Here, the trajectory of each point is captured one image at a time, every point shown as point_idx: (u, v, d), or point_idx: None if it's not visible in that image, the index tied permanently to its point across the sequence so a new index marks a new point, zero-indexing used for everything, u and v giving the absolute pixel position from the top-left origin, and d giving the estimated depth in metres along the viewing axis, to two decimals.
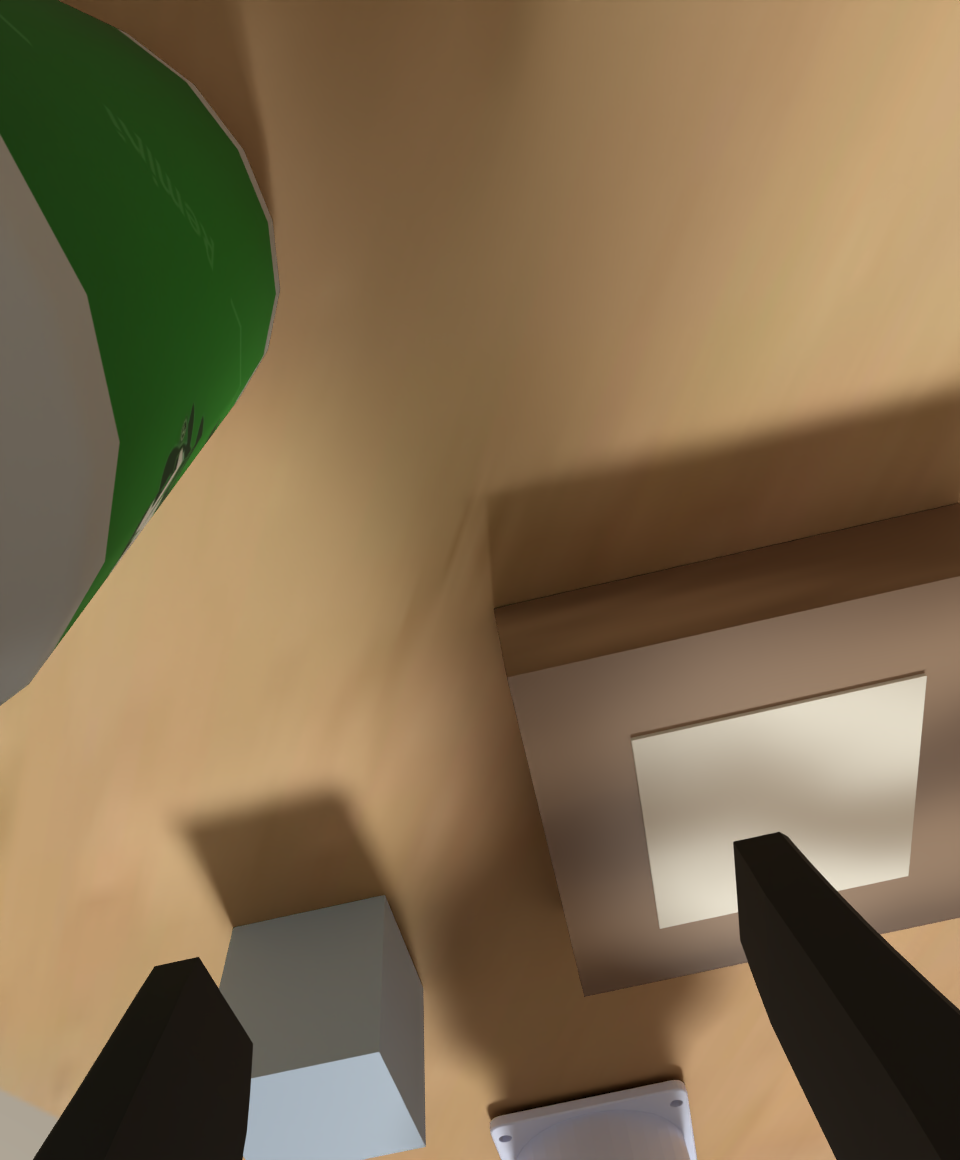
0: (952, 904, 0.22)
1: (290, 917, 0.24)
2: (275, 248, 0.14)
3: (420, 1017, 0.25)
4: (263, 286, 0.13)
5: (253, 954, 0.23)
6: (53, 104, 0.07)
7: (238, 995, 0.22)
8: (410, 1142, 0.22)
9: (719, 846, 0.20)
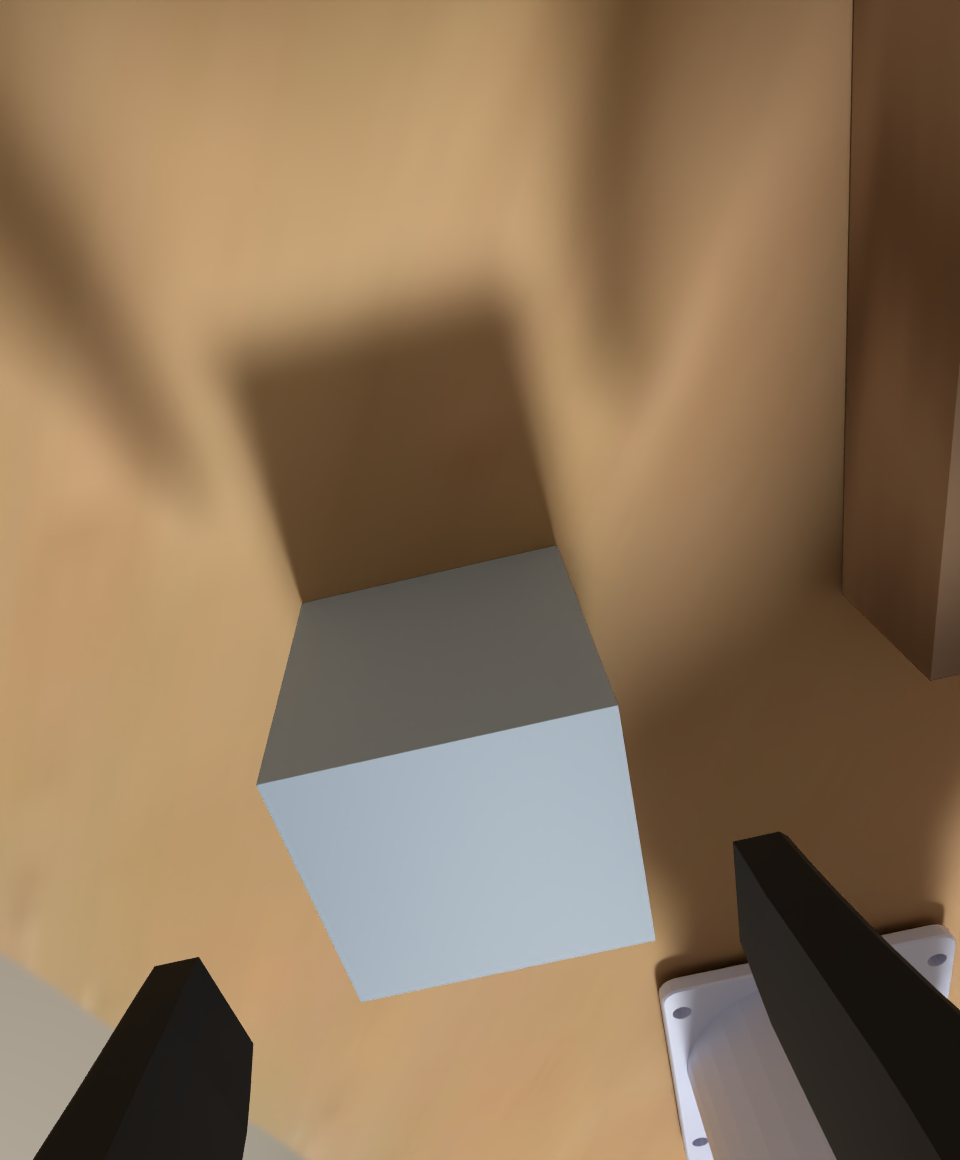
0: None
1: (398, 583, 0.15)
2: None
3: None
4: None
5: (341, 625, 0.14)
6: None
7: (322, 669, 0.12)
8: (631, 928, 0.12)
9: None
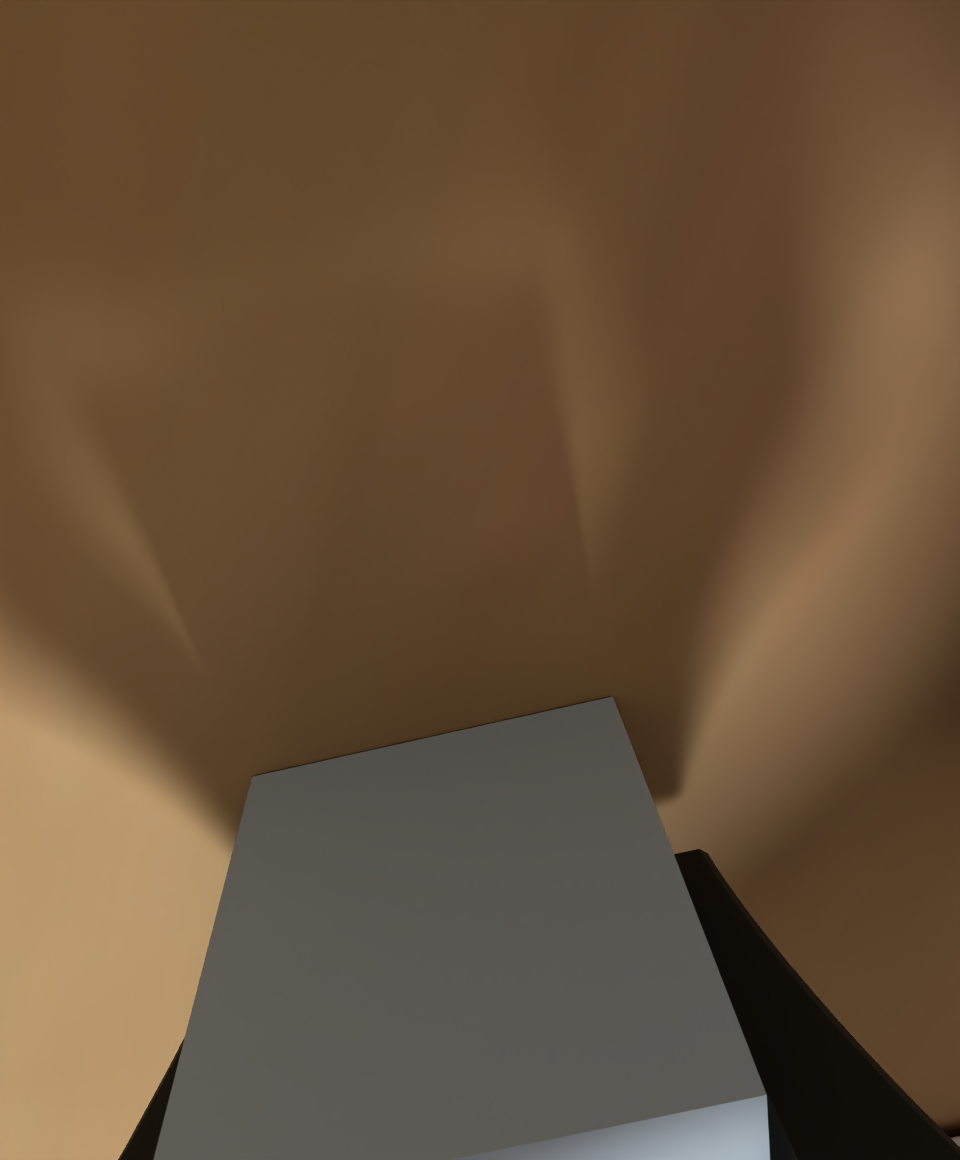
0: None
1: (387, 754, 0.10)
2: None
3: None
4: None
5: (303, 832, 0.09)
6: None
7: (269, 928, 0.08)
8: None
9: None
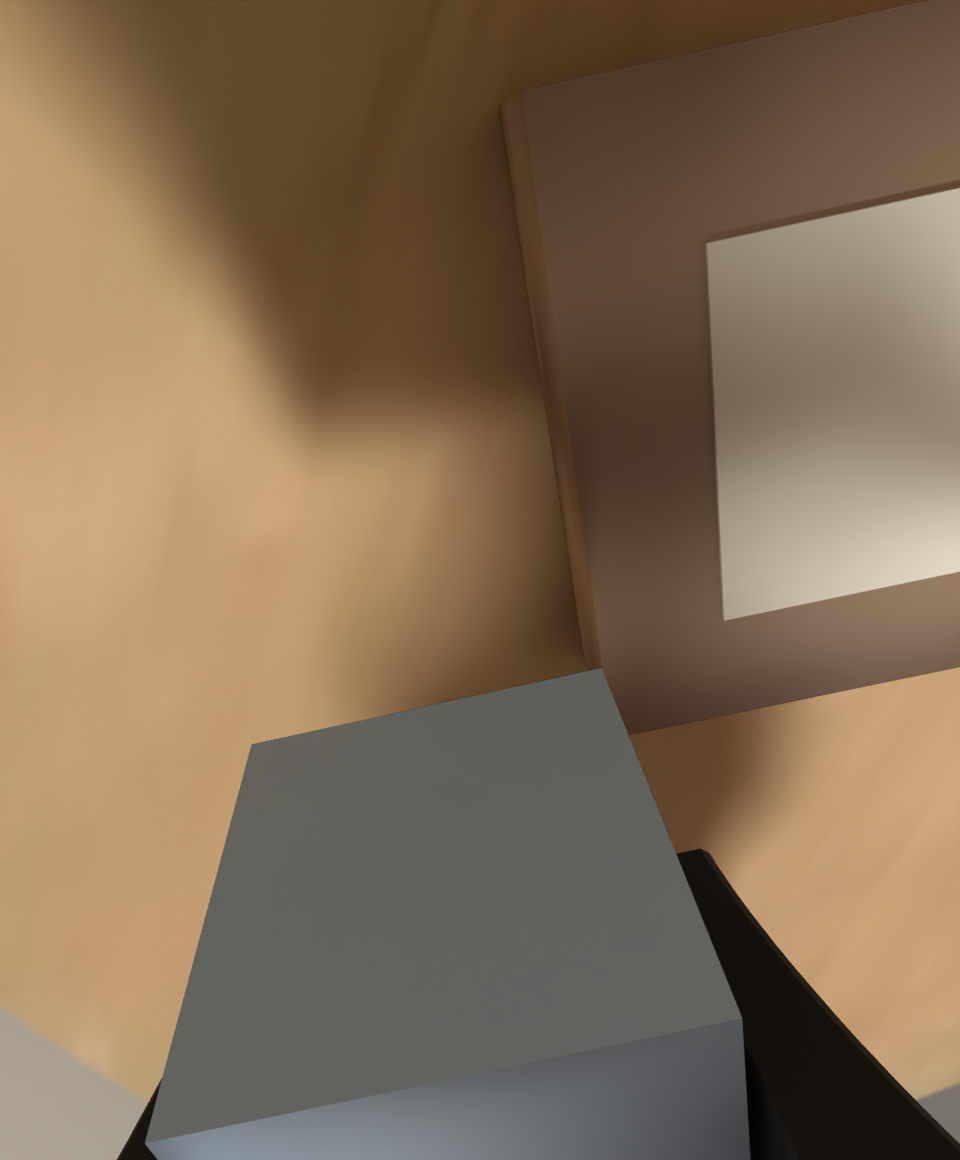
0: None
1: (384, 723, 0.10)
2: None
3: None
4: None
5: (302, 794, 0.10)
6: None
7: (270, 880, 0.08)
8: None
9: (818, 474, 0.14)
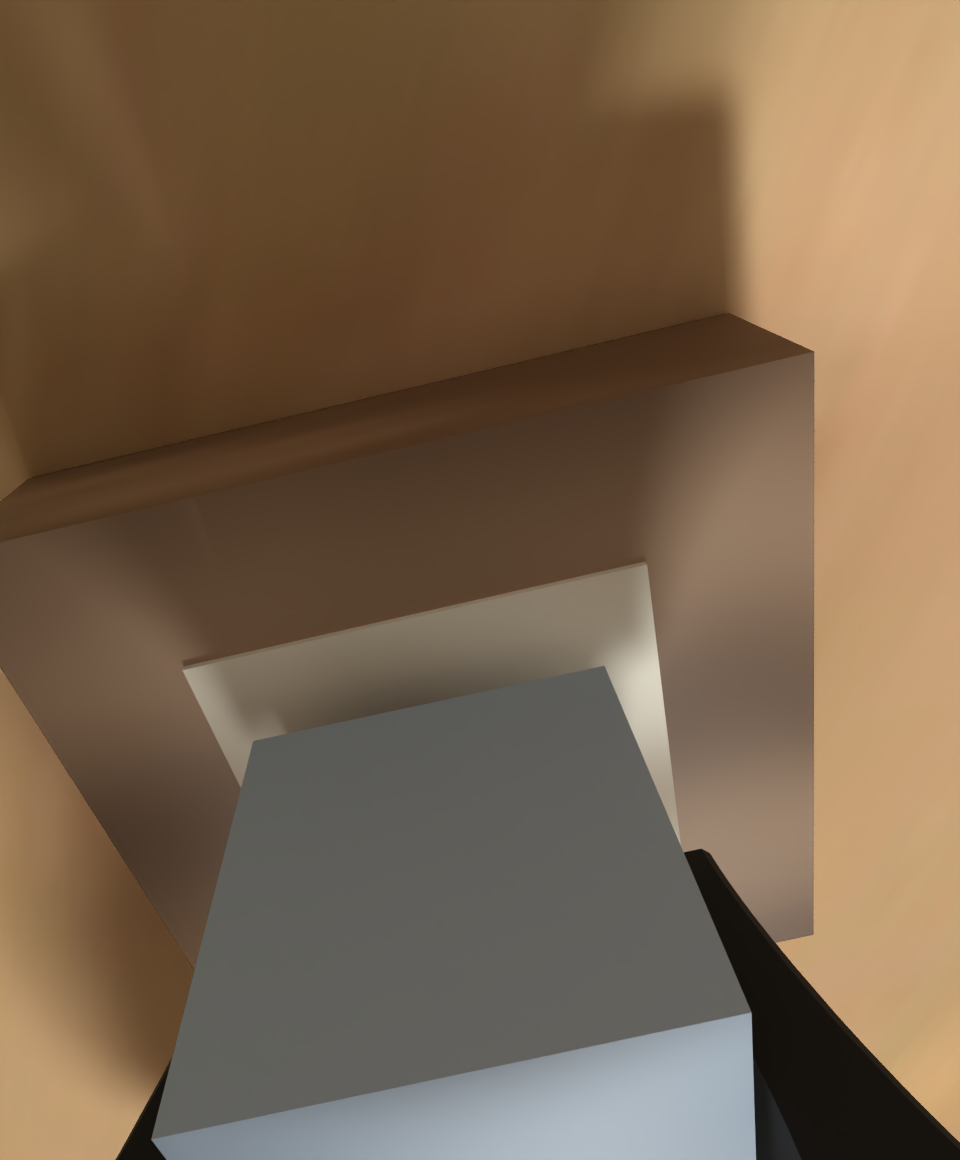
0: (762, 924, 0.15)
1: (386, 719, 0.10)
2: None
3: None
4: None
5: (305, 790, 0.10)
6: None
7: (274, 876, 0.08)
8: None
9: None
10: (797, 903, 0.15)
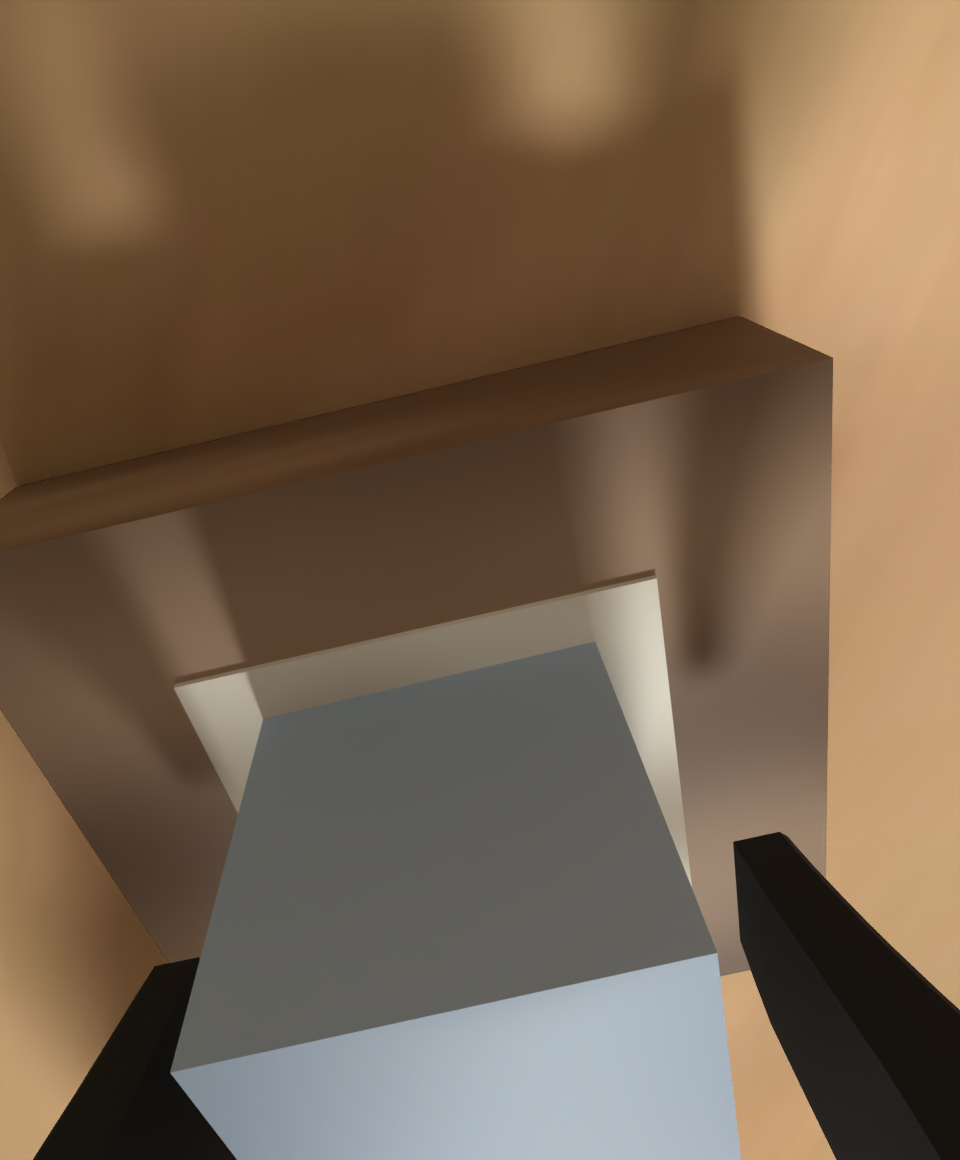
0: None
1: (388, 696, 0.11)
2: None
3: None
4: None
5: (311, 763, 0.10)
6: None
7: (282, 841, 0.09)
8: None
9: None
10: None
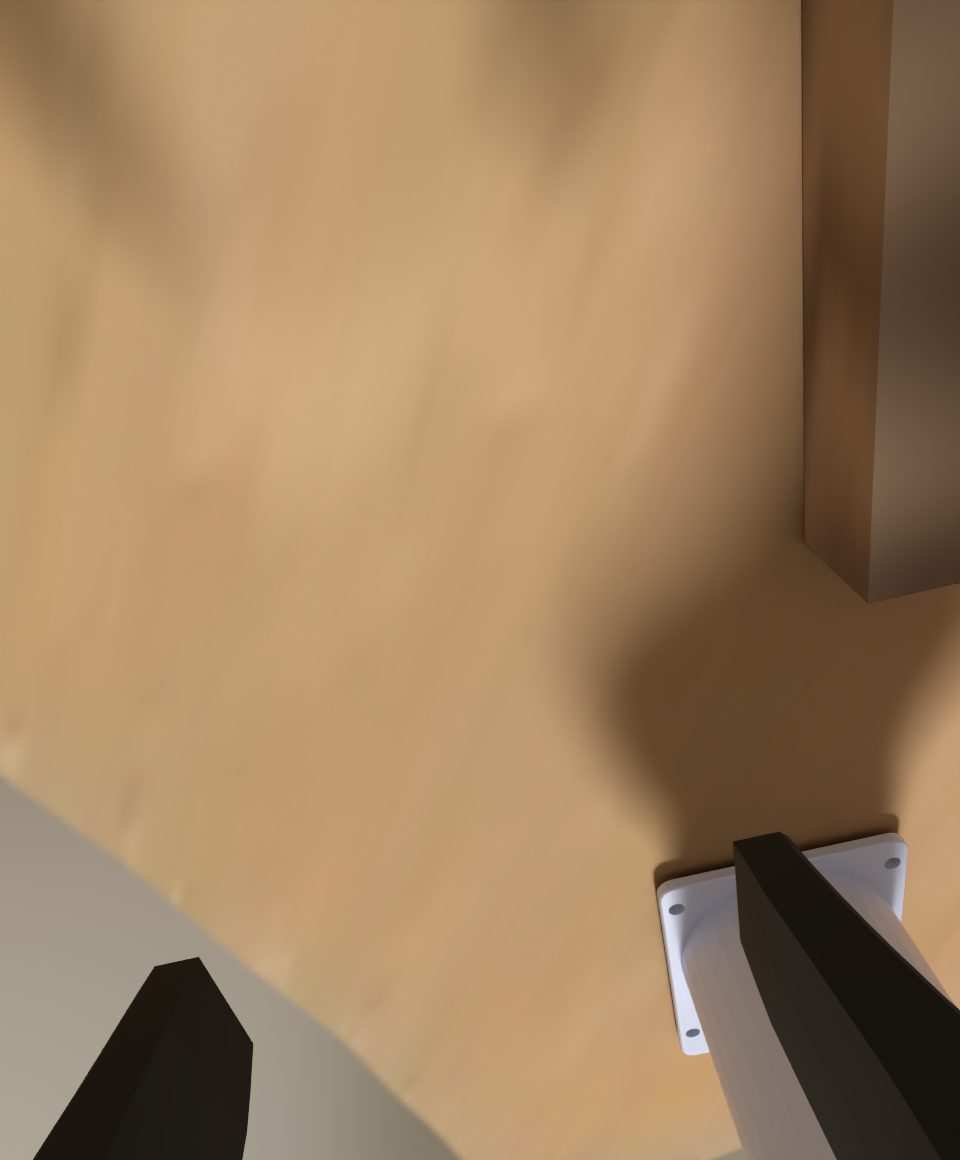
0: None
1: None
2: None
3: None
4: None
5: None
6: None
7: None
8: None
9: None
10: None
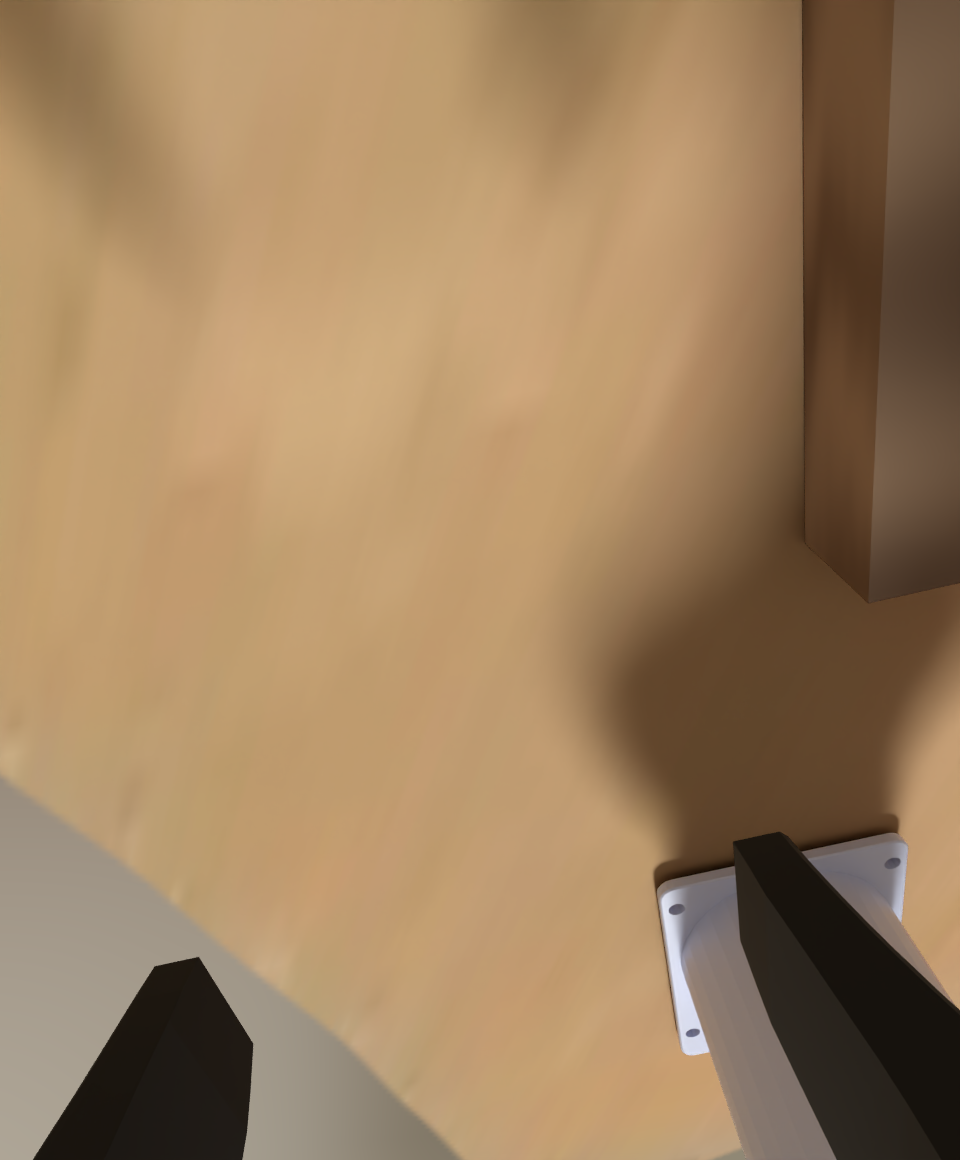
0: None
1: None
2: None
3: None
4: None
5: None
6: None
7: None
8: None
9: None
10: None
